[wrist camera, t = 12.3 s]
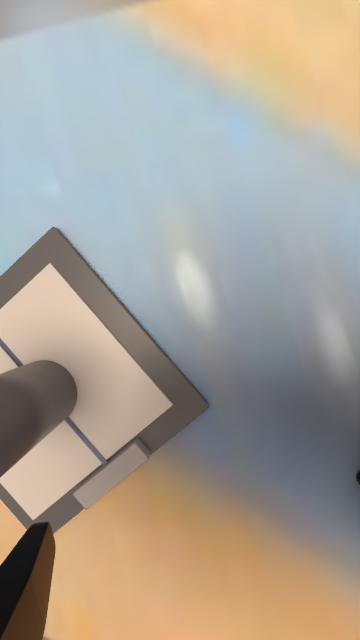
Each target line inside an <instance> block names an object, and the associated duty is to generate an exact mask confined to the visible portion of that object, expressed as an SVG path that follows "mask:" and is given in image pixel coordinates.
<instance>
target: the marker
mask: <svg viewBox="0 0 360 640" xmlns="http://www.w3.org/2000/svg"><path fill="white" fill-rule="evenodd" d="M76 401H77V387H76V383H75V381H74V378H73V377H72V375H71V374H70V372H69V371H68V370H67V369H66V368H64V367H63V366H62V365H60V364H58V363H56V362H53V361H49V360H38V361H34V362H31V363H29V364H26V365H23V366H20V367H18V368H15V369H12V370H9V371H7V372H4V373H1V374H0V477H2V476H3V475H4V474H5V473H6V472H7V471H8V470H9V469H10V468H12V467H13V466H14V465H15V464H16V463H17V462H18V461H19V460H20V459H22V458H23V457H24V456H25V455H26V454H27V453H28V452H29V451H30V450H32V449H33V448H34V447H35V446H36V445H37V444H38V443H39V442H40V441H42V440H43V439H44V438H45V437H46V436H47V435H48V434H49V433H50V432H52V431H53V430H54V429H55V428H56V427H57V426H58V425H59V424H60V423H62V422H63V421H64V420H65V419H66V418H67V417H68V416H69V415H70V414H71V413H72V411H73V409H74V407H75V405H76Z"/></svg>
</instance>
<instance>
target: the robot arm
mask: <svg viewBox="0 0 360 640" xmlns="http://www.w3.org/2000/svg"><path fill="white" fill-rule="evenodd" d="M357 482H358V483H359V485H360V472H359V474H358V475H357ZM54 558H55V540H54V536H53V532H52V527H51V524H50V522H48V521H45V522H37V523H34V524H32V525H31V526H30V527H29V529H28V530H27V531H26V532H25V534H24V535H23V536H22V538H21V539H20V540H19V542H18V543H17V544H16V546H15V547H14V548H13V550H12V551H11V552H10V554H9V555H8V556H7V558H6V559H5V560H4V562H3V563H2V564H1V566H0V640H42V639H43V634H44V629H45V623H46V617H47V610H48V602H49V595H50V587H51V580H52V573H53V565H54Z"/></svg>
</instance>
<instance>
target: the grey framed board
mask: <svg viewBox="0 0 360 640" xmlns="http://www.w3.org/2000/svg"><path fill="white" fill-rule="evenodd" d="M38 360H49V361H53V362H56V363H58V364H60V365H62V366H63V367H64V368H66V369H67V370H68V371H69V372H70V374H71V375H72V377H73V378H74V381H75V383H76V387H77V401H76V405H75V407H74V409H73V411H72V413H71V414H70V415H69V416H68V417H67V418H66V419H65V420H64V421H63V422H62V423H60V424H59V425H58V426H57V427H56V428H55V429H54V430H53V431H52V432H50V433H49V434H48V435H47V436H46V437H45V438H44V439H43V440H42V441H40V442H39V443H38V444H37V445H36V446H35V447H34V448H33V449H32V450H30V451H29V452H28V453H27V454H26V455H25V456H24V457H23V458H22V459H20V460H19V461H18V462H17V463H16V464H15V465H14V466H13V467H12V468H10V469H9V470H8V471H7V472H6V473H5V474H4V475H3V476H2V477H0V499H1V500H2V501H3V502H4V504H5V505H6V506H7V507H8V508H9V509H10V510H11V512H12V513H13V514H14V515H15V516H16V517H17V518H18V520H19V521H20V522H21V523H22V524H23V525H24V526H25V528H26V529H27V530H28V529H29V527H30V526H31V525H32V524H34V523H37V522H45V521H48V522H50V524H51V527H52V532H53V533H55V532H56V531H57V530H58V529H60V528H61V527H62V526H63V525H64V524H66V523H67V522H68V521H69V520H71V519H72V518H73V517H74V516H76V515H77V514H78V513H79V512H80V511H82V510H83V509H84V508H85V509H87V508H89V507H90V506H91V505H92V504H94V503H95V502H96V501H97V500H99V499H100V498H101V497H102V496H103V495H105V494H106V493H107V492H108V491H110V490H111V489H112V488H113V487H115V486H116V485H117V484H118V483H120V482H121V481H122V480H123V479H124V478H126V477H127V476H128V475H129V474H131V473H132V472H133V471H134V470H136V469H137V468H138V467H139V466H140V465H142V464H143V463H144V462H145V461H147V460H148V459H149V456H150V455H151V454H152V453H153V452H154V451H156V450H157V449H158V448H159V447H160V446H162V445H163V444H164V443H165V442H167V441H168V440H169V439H170V438H172V437H173V436H174V435H175V434H176V433H178V432H179V431H180V430H181V429H183V428H184V427H185V426H186V425H188V424H189V423H190V422H191V421H192V420H194V419H195V418H196V417H197V416H199V415H200V414H201V413H202V412H204V411H205V410H206V409H207V408H208V407H209V404H208V403H207V401H206V400H205V399H204V398H203V397H202V396H201V395H200V393H199V392H198V391H197V390H196V389H195V388H194V386H193V385H192V384H191V383H190V382H189V381H188V379H187V378H186V377H185V376H184V375H183V374H182V372H181V371H180V370H179V369H178V368H177V367H176V366H175V364H174V363H173V362H172V361H171V360H170V359H169V357H168V356H167V355H166V354H165V353H164V352H163V350H162V349H161V348H160V347H159V346H158V345H157V344H156V342H155V341H154V340H153V339H152V338H151V337H150V335H149V334H148V333H147V332H146V331H145V330H144V328H143V327H142V326H141V325H140V324H139V323H138V321H137V320H136V319H135V318H134V317H133V316H132V315H131V313H130V312H129V311H128V310H127V309H126V308H125V306H124V305H123V304H122V303H121V302H120V301H119V299H118V298H117V297H116V296H115V295H114V294H113V293H112V291H111V290H110V289H109V288H108V287H107V286H106V284H105V283H104V282H103V281H102V280H101V279H100V277H99V276H98V275H97V274H96V273H95V272H94V270H93V269H92V268H91V267H90V266H89V265H88V264H87V262H86V261H85V260H84V259H83V258H82V257H81V255H80V254H79V253H78V252H77V251H76V250H75V248H74V247H73V246H72V245H71V244H70V243H69V242H68V240H67V239H66V238H65V237H64V236H63V235H62V233H61V232H60V231H59V230H58V229H57V228H55V227H52V228H51V229H50V230H49V231H48V232H47V233H46V234H45V235H44V236H43V237H42V238H40V239H39V240H38V241H37V242H36V243H35V244H34V245H33V246H32V247H31V248H30V249H29V250H28V251H27V252H26V253H25V254H24V255H23V256H21V257H20V258H19V259H18V260H17V261H16V262H15V263H14V264H13V265H12V266H11V267H10V268H9V269H8V270H7V271H6V272H5V273H4V274H3V275H1V276H0V374H1V373H4V372H7V371H9V370H12V369H15V368H18V367H20V366H23V365H26V364H29V363H31V362H34V361H38Z"/></svg>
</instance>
